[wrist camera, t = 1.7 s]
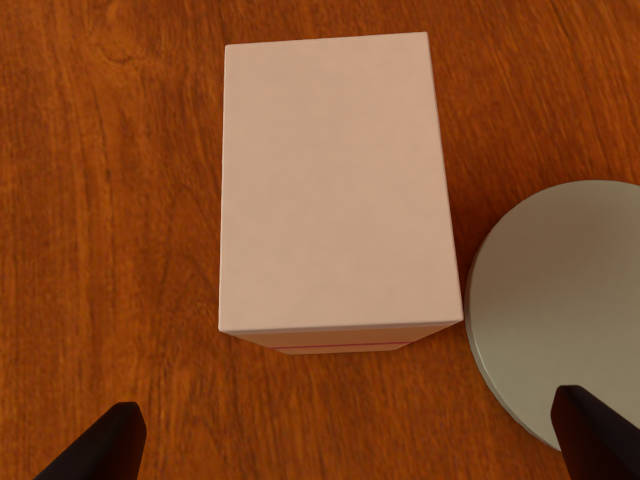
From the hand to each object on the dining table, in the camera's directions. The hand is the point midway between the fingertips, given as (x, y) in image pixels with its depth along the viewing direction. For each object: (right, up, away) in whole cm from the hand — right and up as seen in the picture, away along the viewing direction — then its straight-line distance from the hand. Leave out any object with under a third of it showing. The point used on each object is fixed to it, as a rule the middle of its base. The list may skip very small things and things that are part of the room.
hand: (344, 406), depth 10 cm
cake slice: (0, +2, +12) cm, 13 cm away
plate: (+13, 0, +11) cm, 17 cm away
